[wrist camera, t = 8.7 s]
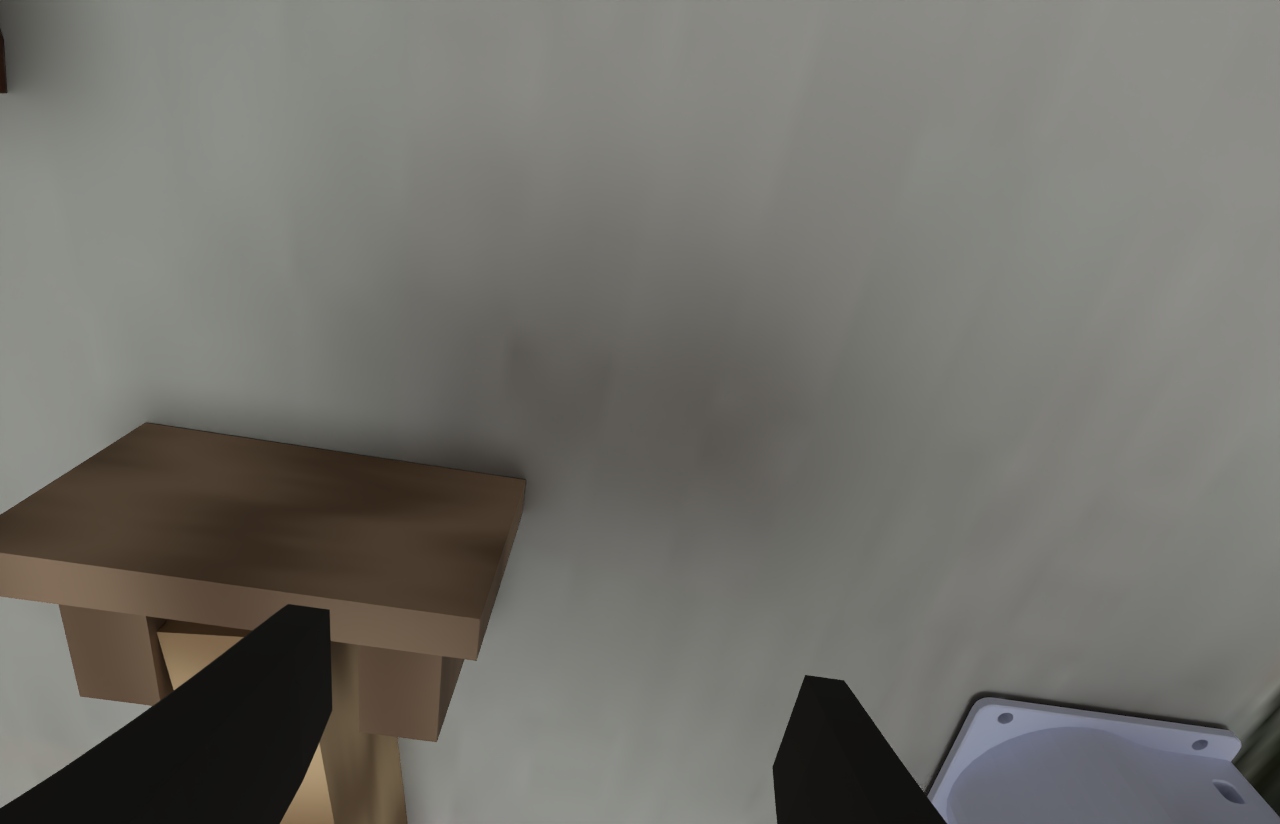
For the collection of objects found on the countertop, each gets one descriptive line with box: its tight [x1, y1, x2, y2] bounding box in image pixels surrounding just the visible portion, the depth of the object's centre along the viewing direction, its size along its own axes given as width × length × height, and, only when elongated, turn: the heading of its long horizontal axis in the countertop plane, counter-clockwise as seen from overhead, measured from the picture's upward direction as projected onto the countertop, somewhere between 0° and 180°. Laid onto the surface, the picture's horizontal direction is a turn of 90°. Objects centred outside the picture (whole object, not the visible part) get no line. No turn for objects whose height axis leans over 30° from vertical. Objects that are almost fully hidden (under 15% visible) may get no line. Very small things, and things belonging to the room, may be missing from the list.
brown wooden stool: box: [0, 423, 526, 742], centre depth 18 cm, size 11×5×6 cm, turn 81°
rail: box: [157, 619, 407, 824], centre depth 22 cm, size 14×4×5 cm, turn 176°
